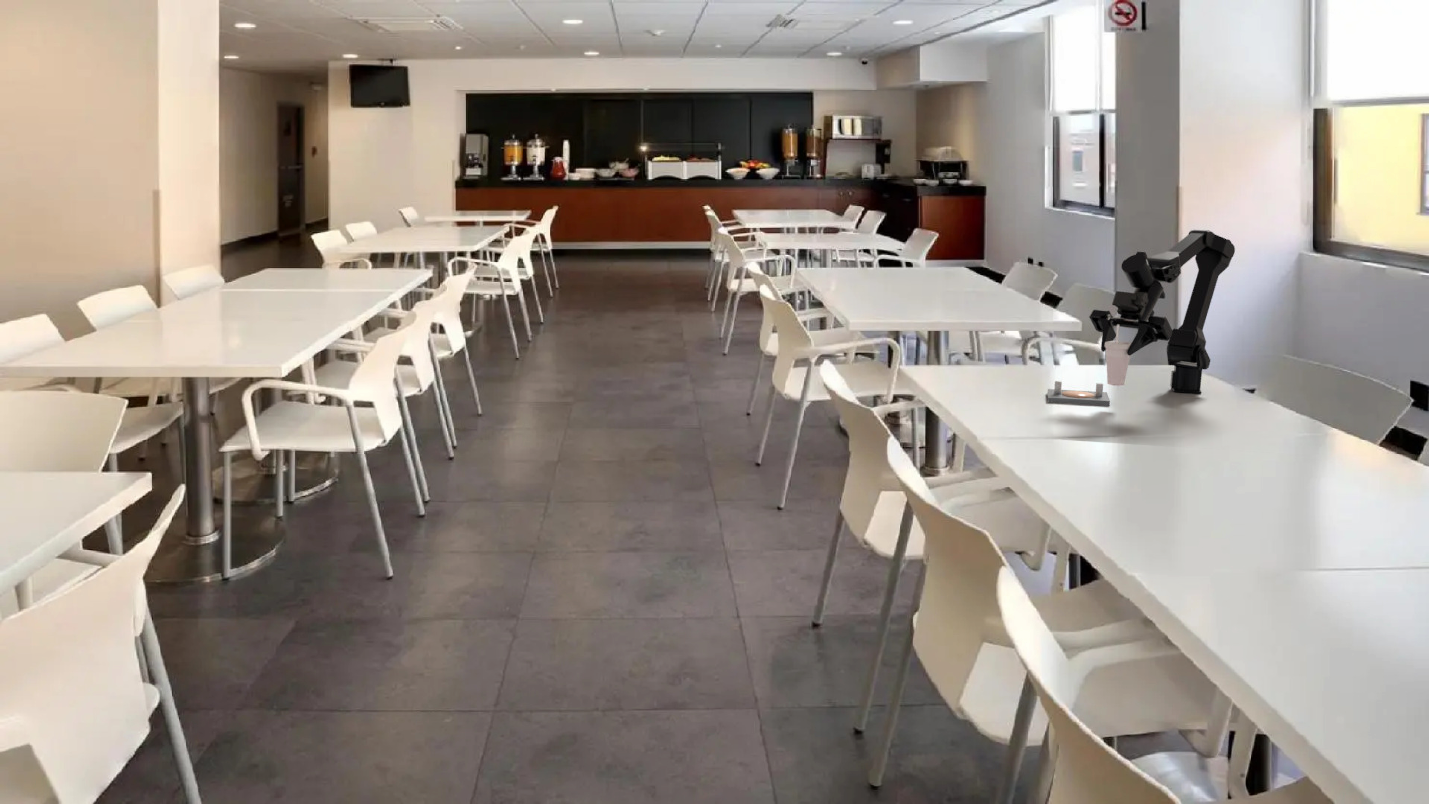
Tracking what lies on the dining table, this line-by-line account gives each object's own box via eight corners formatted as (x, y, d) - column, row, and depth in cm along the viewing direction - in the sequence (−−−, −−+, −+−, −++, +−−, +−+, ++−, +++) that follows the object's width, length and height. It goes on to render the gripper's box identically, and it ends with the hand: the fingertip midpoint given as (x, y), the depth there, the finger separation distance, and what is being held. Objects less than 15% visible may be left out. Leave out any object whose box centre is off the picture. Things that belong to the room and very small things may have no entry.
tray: (1106, 397, 298) (1107, 380, 298) (1109, 406, 288) (1110, 388, 287) (1047, 393, 302) (1048, 377, 301) (1048, 402, 291) (1049, 385, 290)
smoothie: (1096, 381, 287) (1100, 323, 284) (1120, 380, 289) (1124, 322, 286) (1111, 387, 281) (1115, 327, 278) (1135, 386, 283) (1140, 326, 280)
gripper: (1096, 275, 289) (1067, 326, 284) (1170, 282, 276) (1141, 335, 271) (1111, 305, 296) (1083, 355, 291) (1184, 313, 283) (1156, 366, 278)
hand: (1115, 352), depth 283 cm, fingers closed on smoothie, 6 cm apart
